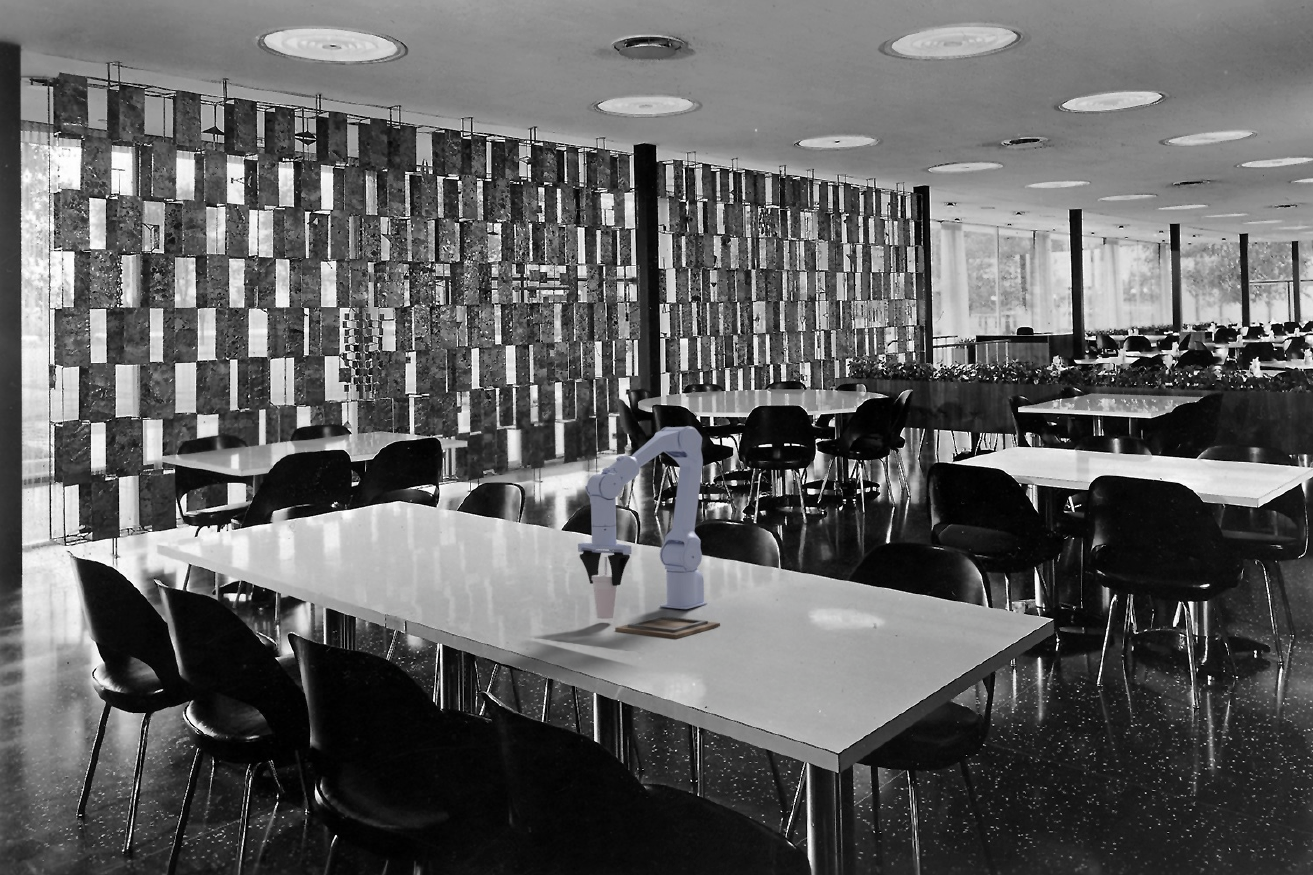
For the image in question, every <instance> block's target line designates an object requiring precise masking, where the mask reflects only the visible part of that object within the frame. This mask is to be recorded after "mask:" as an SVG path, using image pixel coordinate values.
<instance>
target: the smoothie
mask: <svg viewBox="0 0 1313 875" xmlns="http://www.w3.org/2000/svg"><path fill="white" fill-rule="evenodd" d="M592 580H593V584H592V586H593V593H594V601H595V610H596V618H597V619H599V620H600V619H602V620H603V619H606V620H607V619H614V613H615V606H616V597H617V590H618V589H617V587H618V585H617V586H613V584H612V574H608V556H604V574H598V575H594V576H592Z"/></svg>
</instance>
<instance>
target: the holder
mask: <svg viewBox="0 0 1313 875" xmlns="http://www.w3.org/2000/svg"><path fill="white" fill-rule="evenodd" d="M718 626H719V627H721V622H714V621H713V622H712V621H708V620H702V619H695V618H694V619H693V618H686V617H685V618H684V617H683V618H682V617H674V616H665V615H660V616H658V617H651V618H648V619H644V620H641V621H640V620H639V621H636V622H632V623H628V624H625V625H620V626H617V627H616V626H615V627H614V629H615V632H618V633H627V634H628V633H629V634H635V635H641V636H642V635H643V636H652V637H659V638H668V639H680V638H684V637H687V636H690V635H695V634H698V633H702V632H706V631H710V630H712V629H713V630H714V629H715V628H718Z"/></svg>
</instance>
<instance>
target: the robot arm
mask: <svg viewBox="0 0 1313 875" xmlns="http://www.w3.org/2000/svg"><path fill="white" fill-rule="evenodd" d="M702 442H703V437H702V435H701V434H700V432H699V431H698V430H697V429H696V428H695V427H694V426H692V425H691V426H689V425H687V426H675V427H673V426H672V427H671V426H665V427H663V428H661V429H660V430H659V431H656V432H655V434H654V436H653V437H651V439H649V440H648V441H647V442H646V443H645V444H644V445H642V446H641V447H640V448H639V449H638V450H636V451H635V452H634V453H633V454H632V455H631V456H630V455H627V454H626V455H625V454H624V455H619V456H617V457H616V458H615V459H616V460H615V462H613V463H612V464H611V465H609V466H608V467H603V468H602V471H601V473H596V474H592V475H591V477H589V479H588V481H587V484H586V485H585V493H586V494H587V496H588V498H589V504H590V515H591V517H590V518H591V542H589V543H588V542H581V543H579V542H578V543H577V551H578V553H580V554H579V559H580V560H581V562H582V563H583V565H584V569H585V571H586V573H587V577H588V581H589V585H590V584H591V585H593V580H592V576H594V575H599V566H600V560H601V556H602V554H608V555H607V560H608V562H609V564H610V570H611V575H612V584H613V586H617V587H618V586H620V585H621V584H622V579H623V576H624V572H625V568H626V566H627V563H628V561H629V559H630V558H631V557H630V556H631V555H632V545H627V544H619V543H617V542H618V541H617V510H616V508H617V506H616V501H617V500H616V498H617V497H618V496H619V495H620V493H621V490H622V488H623V487H624V486H626V485H627V484H628V483H630V482H632V480H633V479H635V478H636V477H637V476H639V474H640V469H641V467H643V466H644V465H646V464H647V463H648V462H650V461H651V460H653V459H654V458H656V457H657V456H659V455H660V454H662V453H665V454H667V455H668V456H669V457H671V458H672V460H674V461H675V462H676V463H677V464H678V466H679V473H678V479H677V480H678V481H677V487H676V497H675V504H674V513H673V519H672V520H673V521H672V528H671V529H670V531H669V532H668V533H667V534H666V535H665V536H664V541H663V544H662V546H661V547H660V550H659V559H660V562H661V564H662V565H663V566H664V570H665V571H666V574H665V575H666V576H665V577H666V602H665V603H662V604H659V607H661V608H669V609H677V610H679V609H680V610H688V609H692V608H697V607H700V606H701V607H702V606H705V605H707V604H708V602H707V601H705V593H704V592H705V590H704V589H705V588H704V586H705V584H704V582H705V581H704V576H703V573H702V572H701V571H700V570H698V567H699V566H700V565H701V563H702V559H703V553H702V549H701V543H702V542H701V541H702V540H701V539H700V538H699V536H698V535H697V534H696V532H695V528H696V521H697V512H698V505H699V497H700V491H701V490H700V489H701V482H702V481H701V480H702V474H703V473H702V472H703V465H704V463H703V462H704V459H703V453H702V444H703V443H702ZM609 554H611V555H609Z"/></svg>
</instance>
